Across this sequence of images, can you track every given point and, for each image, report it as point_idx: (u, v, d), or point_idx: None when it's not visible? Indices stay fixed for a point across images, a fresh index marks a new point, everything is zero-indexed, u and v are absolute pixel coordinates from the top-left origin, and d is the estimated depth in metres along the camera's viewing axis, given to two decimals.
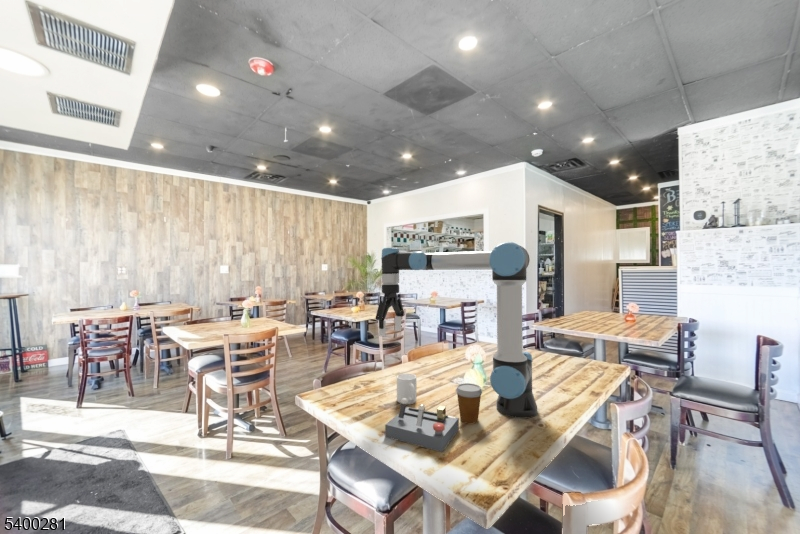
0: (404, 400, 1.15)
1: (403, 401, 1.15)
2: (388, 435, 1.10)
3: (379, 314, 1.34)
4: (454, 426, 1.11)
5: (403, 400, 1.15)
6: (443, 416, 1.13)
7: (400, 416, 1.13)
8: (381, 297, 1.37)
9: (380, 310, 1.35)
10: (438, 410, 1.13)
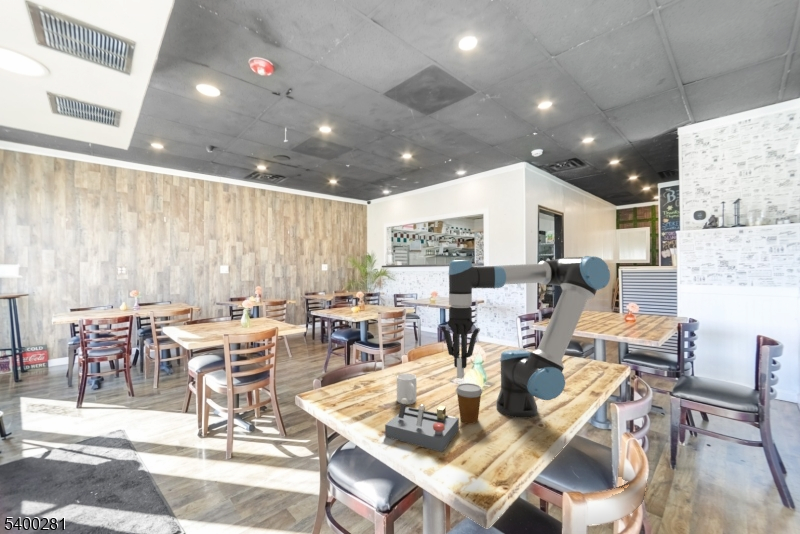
0: (404, 400, 1.15)
1: (403, 401, 1.15)
2: (388, 435, 1.10)
3: None
4: (454, 426, 1.11)
5: (403, 400, 1.15)
6: (443, 416, 1.13)
7: (400, 416, 1.13)
8: None
9: None
10: (438, 410, 1.13)
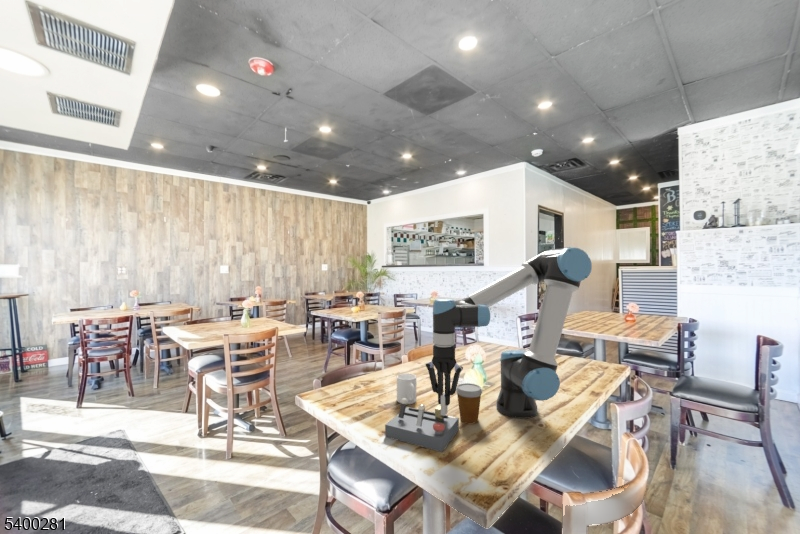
0: (404, 400, 1.15)
1: (403, 401, 1.15)
2: (388, 435, 1.10)
3: None
4: (454, 426, 1.11)
5: (403, 400, 1.15)
6: (441, 416, 1.14)
7: (400, 416, 1.13)
8: None
9: None
10: (436, 410, 1.14)
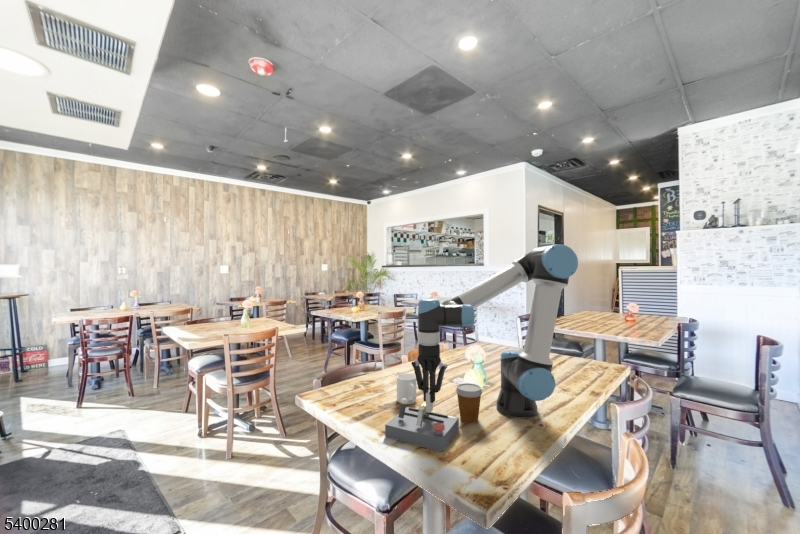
0: (404, 400, 1.15)
1: (403, 401, 1.15)
2: (388, 435, 1.10)
3: None
4: (454, 426, 1.11)
5: (403, 400, 1.15)
6: (426, 412, 1.16)
7: (400, 416, 1.13)
8: None
9: None
10: None
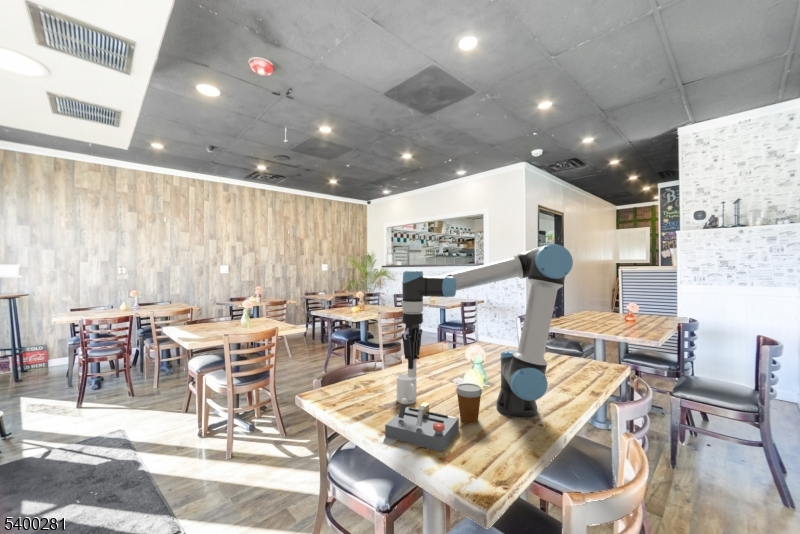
0: (404, 400, 1.15)
1: (403, 401, 1.15)
2: (388, 435, 1.10)
3: (408, 354, 1.19)
4: (454, 426, 1.11)
5: (403, 400, 1.15)
6: (426, 412, 1.16)
7: (400, 416, 1.13)
8: (403, 336, 1.17)
9: (407, 350, 1.18)
10: None
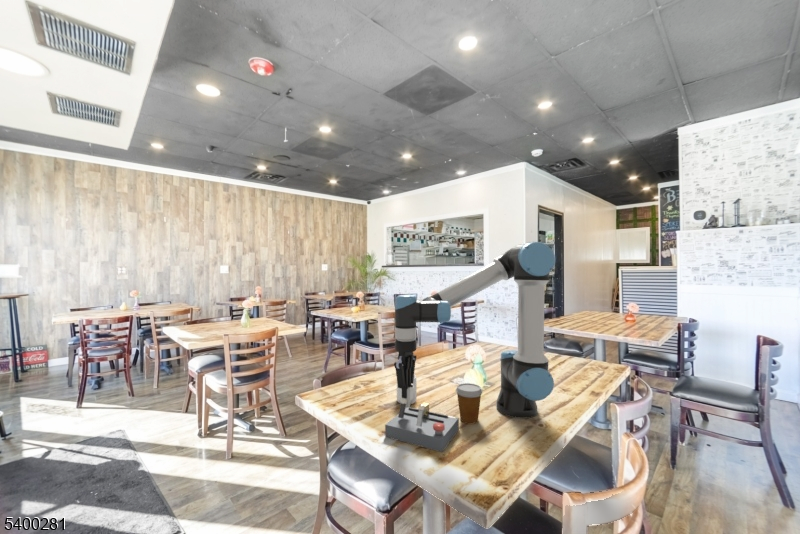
0: (403, 400, 1.15)
1: (402, 401, 1.15)
2: (388, 435, 1.10)
3: (401, 384, 1.14)
4: (454, 426, 1.11)
5: (402, 400, 1.15)
6: (426, 412, 1.16)
7: (400, 416, 1.13)
8: (396, 365, 1.12)
9: (400, 379, 1.13)
10: None
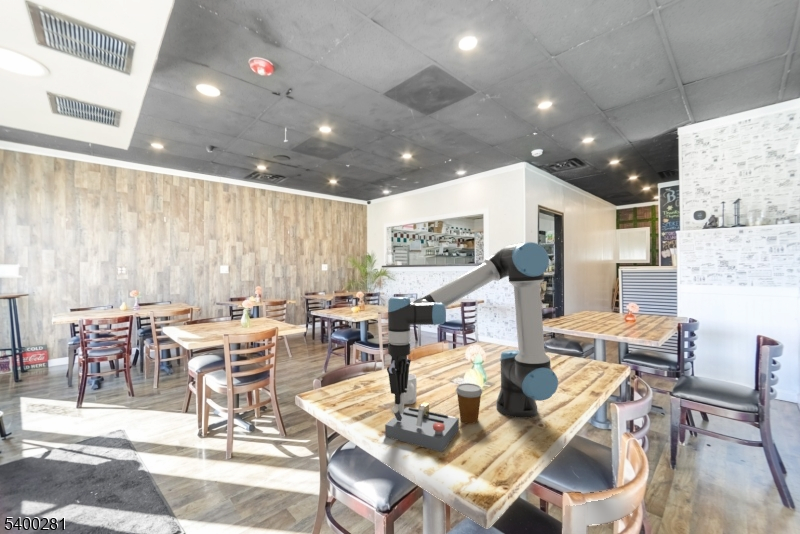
0: (394, 411, 1.09)
1: (394, 412, 1.09)
2: (388, 435, 1.10)
3: (394, 389, 1.09)
4: (454, 426, 1.11)
5: (393, 412, 1.09)
6: (426, 412, 1.16)
7: (398, 420, 1.12)
8: (389, 370, 1.08)
9: (393, 384, 1.09)
10: None
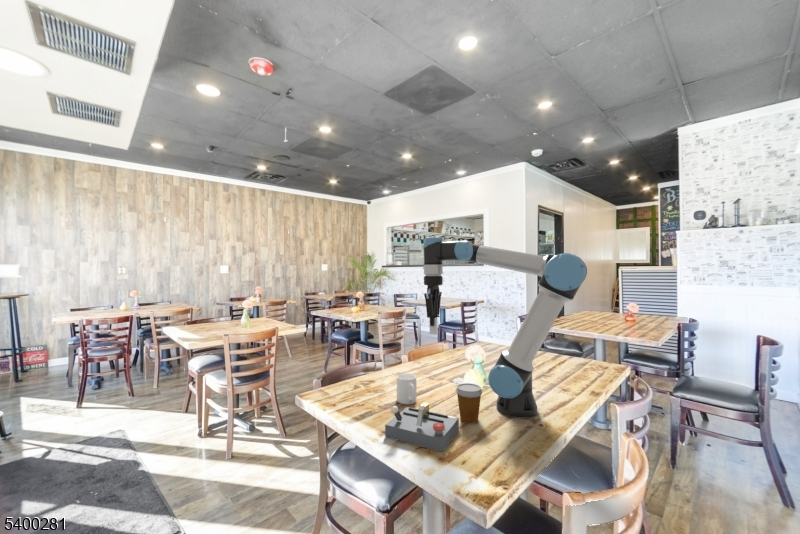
0: (394, 411, 1.09)
1: (394, 412, 1.09)
2: (388, 435, 1.10)
3: (430, 312, 1.31)
4: (454, 426, 1.11)
5: (393, 412, 1.09)
6: (426, 412, 1.16)
7: (398, 420, 1.12)
8: (426, 295, 1.30)
9: (429, 308, 1.31)
10: None
